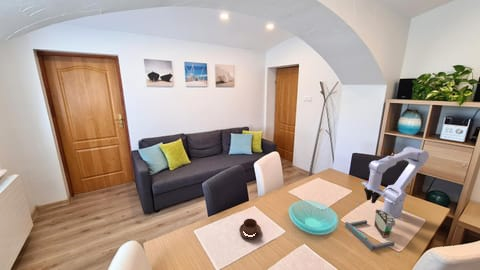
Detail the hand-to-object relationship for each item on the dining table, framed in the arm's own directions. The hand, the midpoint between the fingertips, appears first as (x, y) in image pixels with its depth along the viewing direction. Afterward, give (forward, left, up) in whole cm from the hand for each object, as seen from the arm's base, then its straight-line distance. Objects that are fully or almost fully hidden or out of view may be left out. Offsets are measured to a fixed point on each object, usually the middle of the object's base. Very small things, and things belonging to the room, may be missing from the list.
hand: (370, 201), depth 114 cm
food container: (+3, +13, -11) cm, 17 cm away
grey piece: (+13, +13, -10) cm, 21 cm away
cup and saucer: (+75, -4, -11) cm, 76 cm away
